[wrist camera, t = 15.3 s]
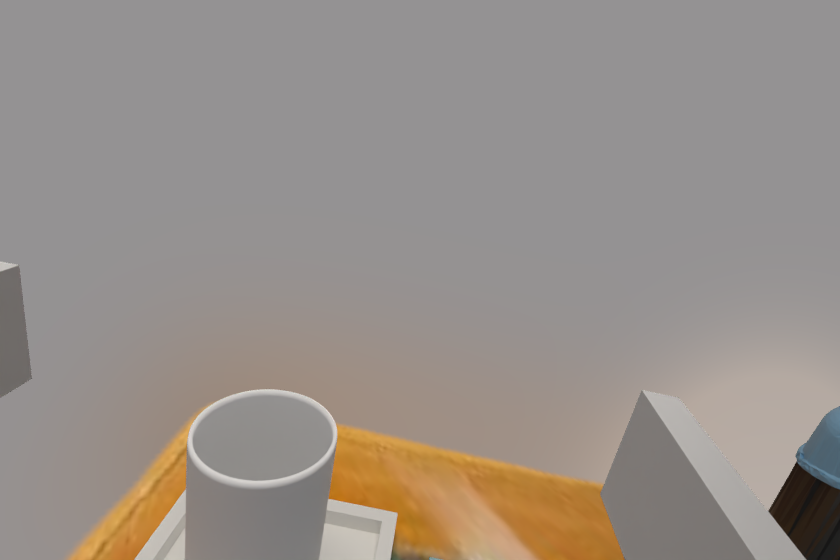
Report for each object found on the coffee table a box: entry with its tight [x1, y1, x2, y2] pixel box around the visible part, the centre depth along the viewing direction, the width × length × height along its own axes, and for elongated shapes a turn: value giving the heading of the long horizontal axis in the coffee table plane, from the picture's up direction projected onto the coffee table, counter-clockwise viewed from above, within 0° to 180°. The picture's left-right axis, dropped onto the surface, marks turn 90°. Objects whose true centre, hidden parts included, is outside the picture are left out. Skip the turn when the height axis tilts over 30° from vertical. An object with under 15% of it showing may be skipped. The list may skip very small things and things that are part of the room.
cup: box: [185, 389, 337, 560], centre depth 30 cm, size 8×8×16 cm
